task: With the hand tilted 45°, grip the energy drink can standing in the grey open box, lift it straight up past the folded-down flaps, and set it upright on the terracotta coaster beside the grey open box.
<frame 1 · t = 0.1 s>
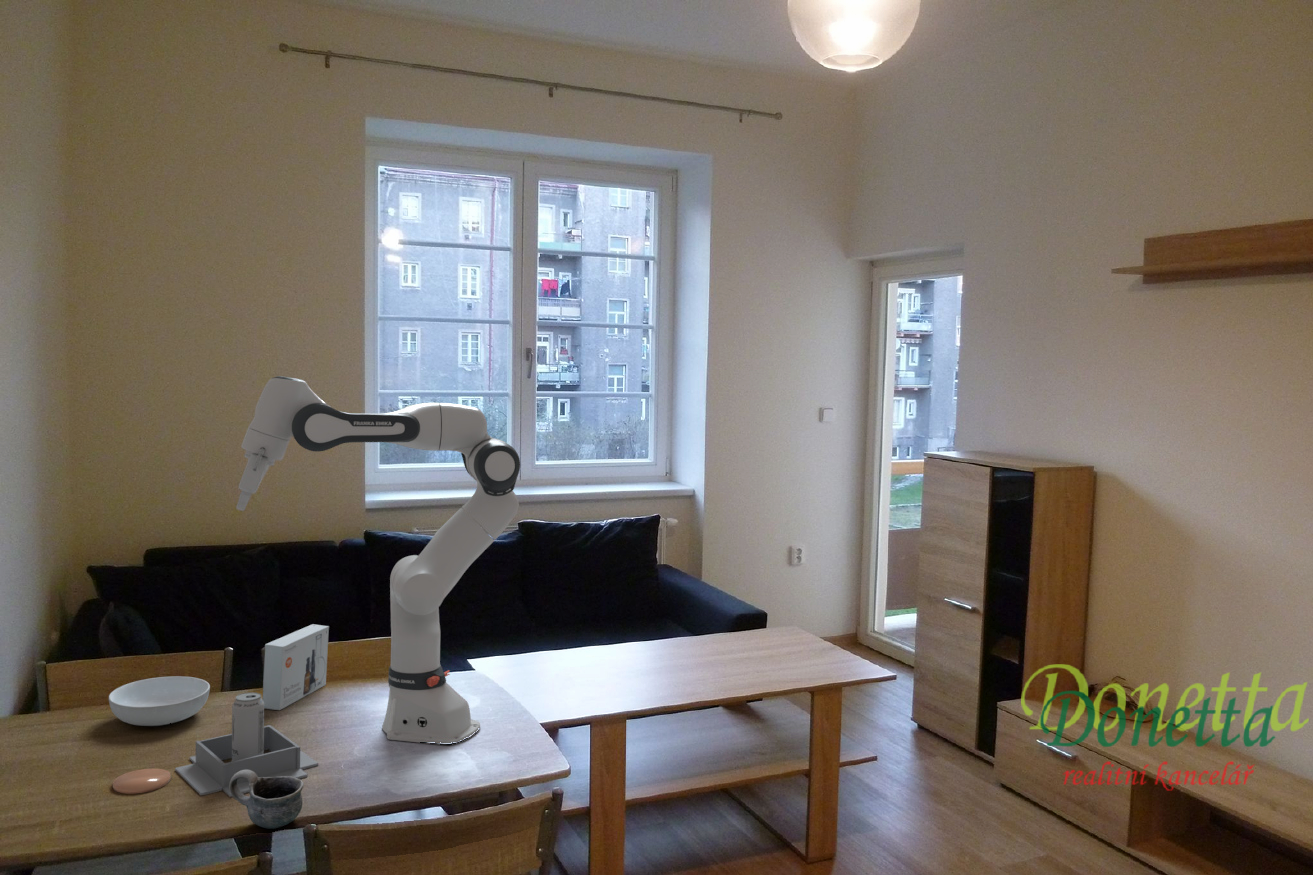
hand: (241, 506, 207), 52 cm above the table, tool tilted 20°, fingers open, 8 cm apart
grey open box: (247, 767, 197), on the table
serving bowl: (160, 720, 222), on the table
coaster: (142, 782, 188), on the table
skincare box: (296, 697, 241), on the table
mug: (266, 826, 173), on the table
energy drink can: (247, 768, 197), resting in grey open box
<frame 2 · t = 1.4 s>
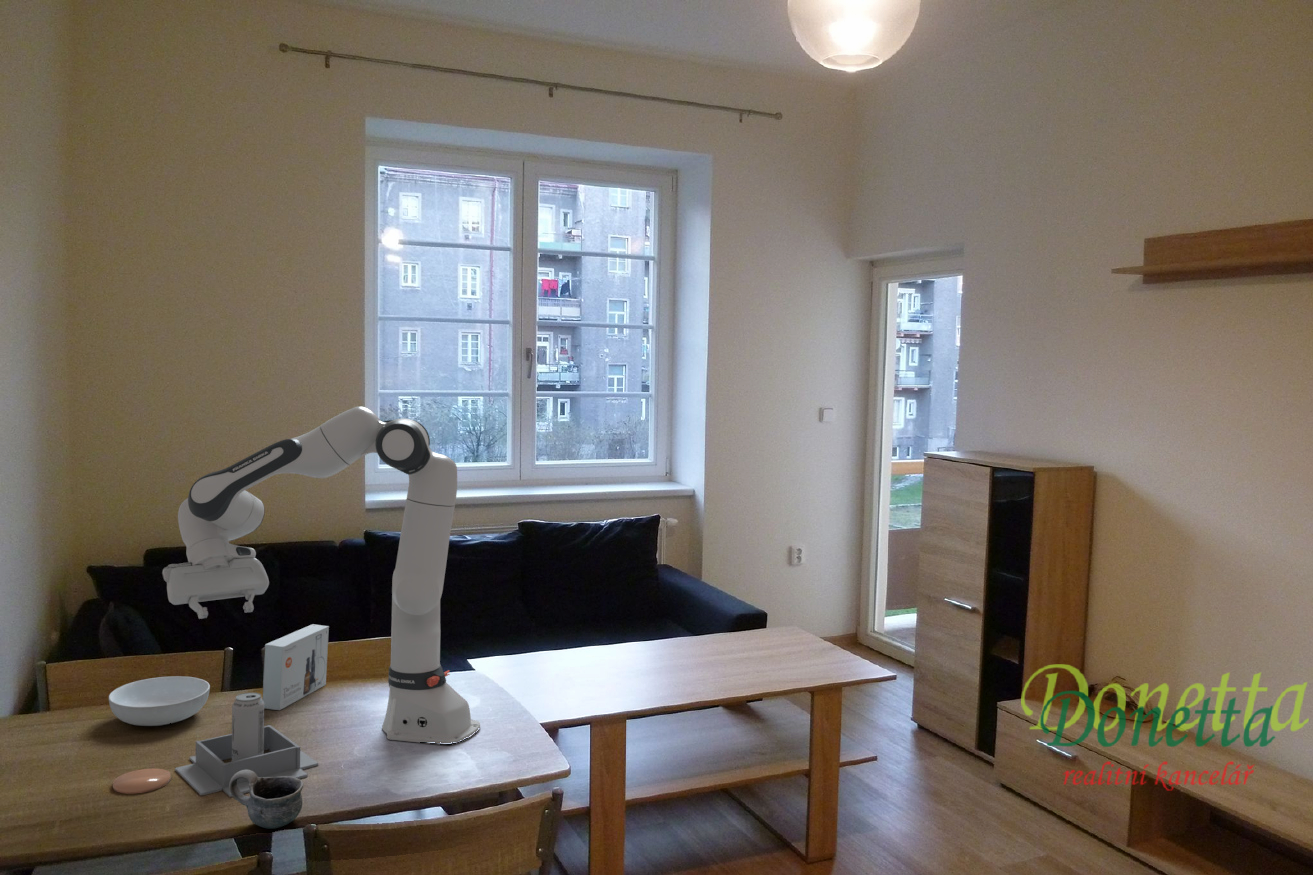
hand: (227, 613, 204), 30 cm above the table, tool tilted 45°, fingers open, 8 cm apart
nothing on the table moved.
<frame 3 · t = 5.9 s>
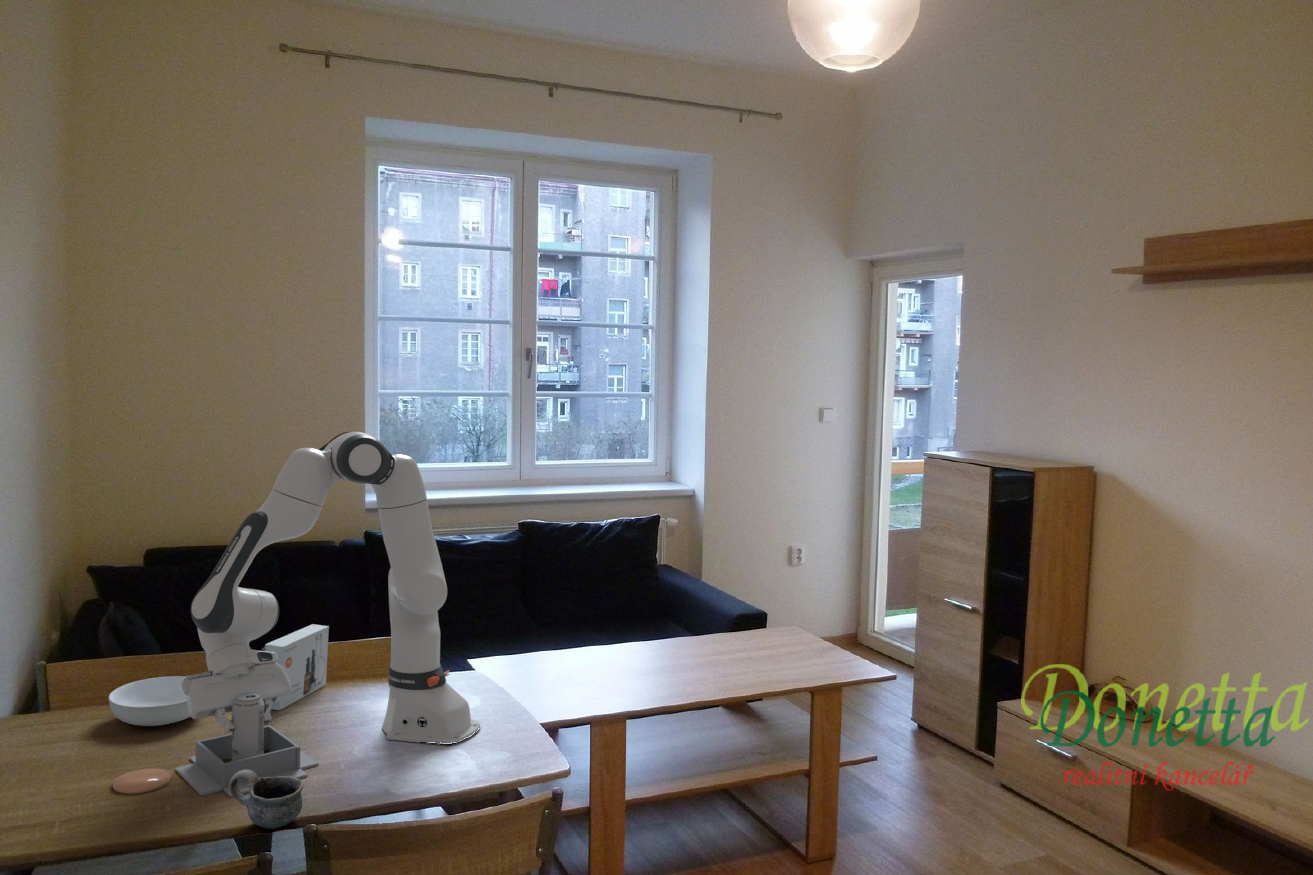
hand: (249, 726, 196), 9 cm above the table, tool tilted 45°, fingers closed on energy drink can, 6 cm apart
energy drink can: (247, 768, 197), resting in grey open box, touching gripper
everything else where it was.
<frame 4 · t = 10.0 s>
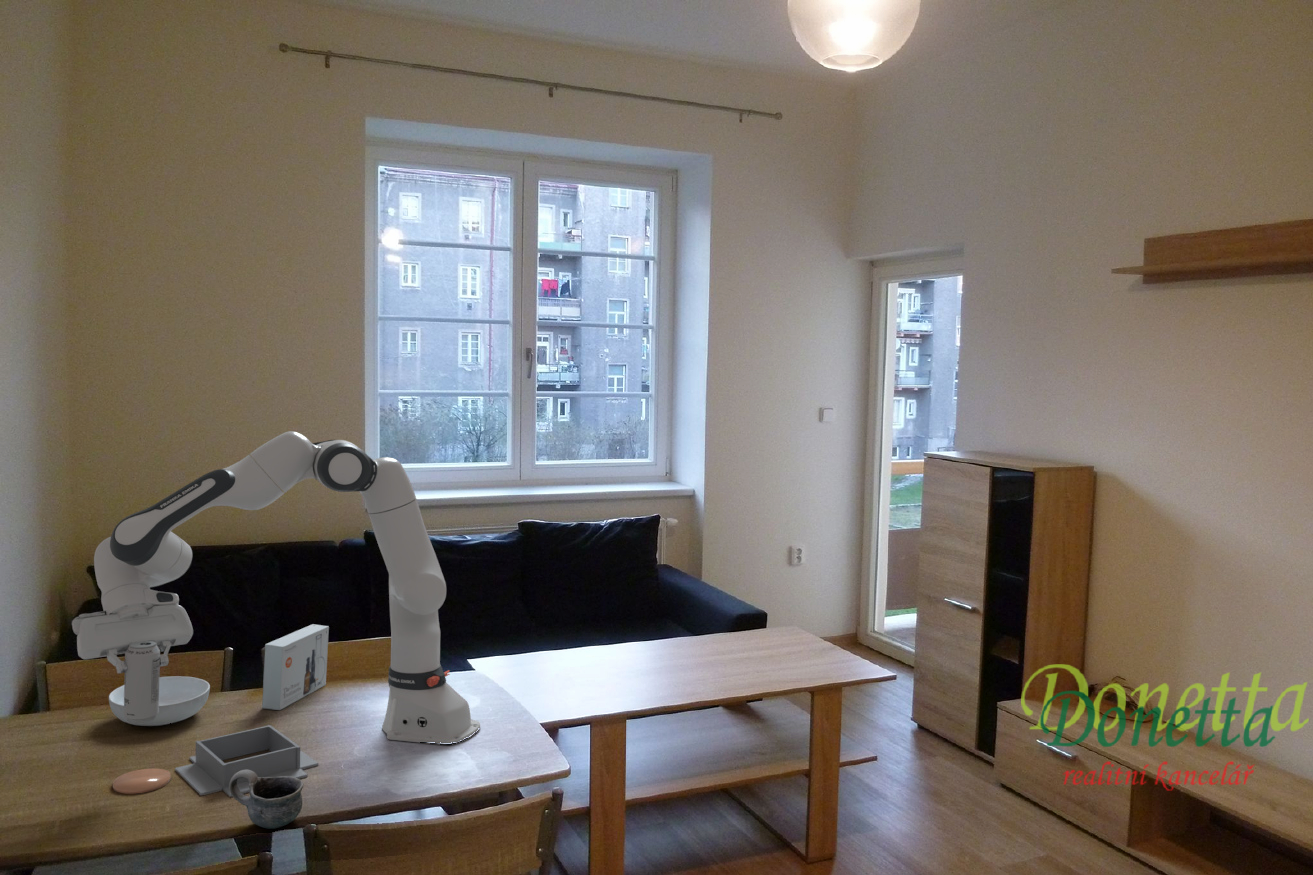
hand: (143, 668, 187), 23 cm above the table, tool tilted 45°, fingers closed on energy drink can, 6 cm apart
energy drink can: (141, 719, 188), point 13 cm above the table, touching gripper
everything else where it was.
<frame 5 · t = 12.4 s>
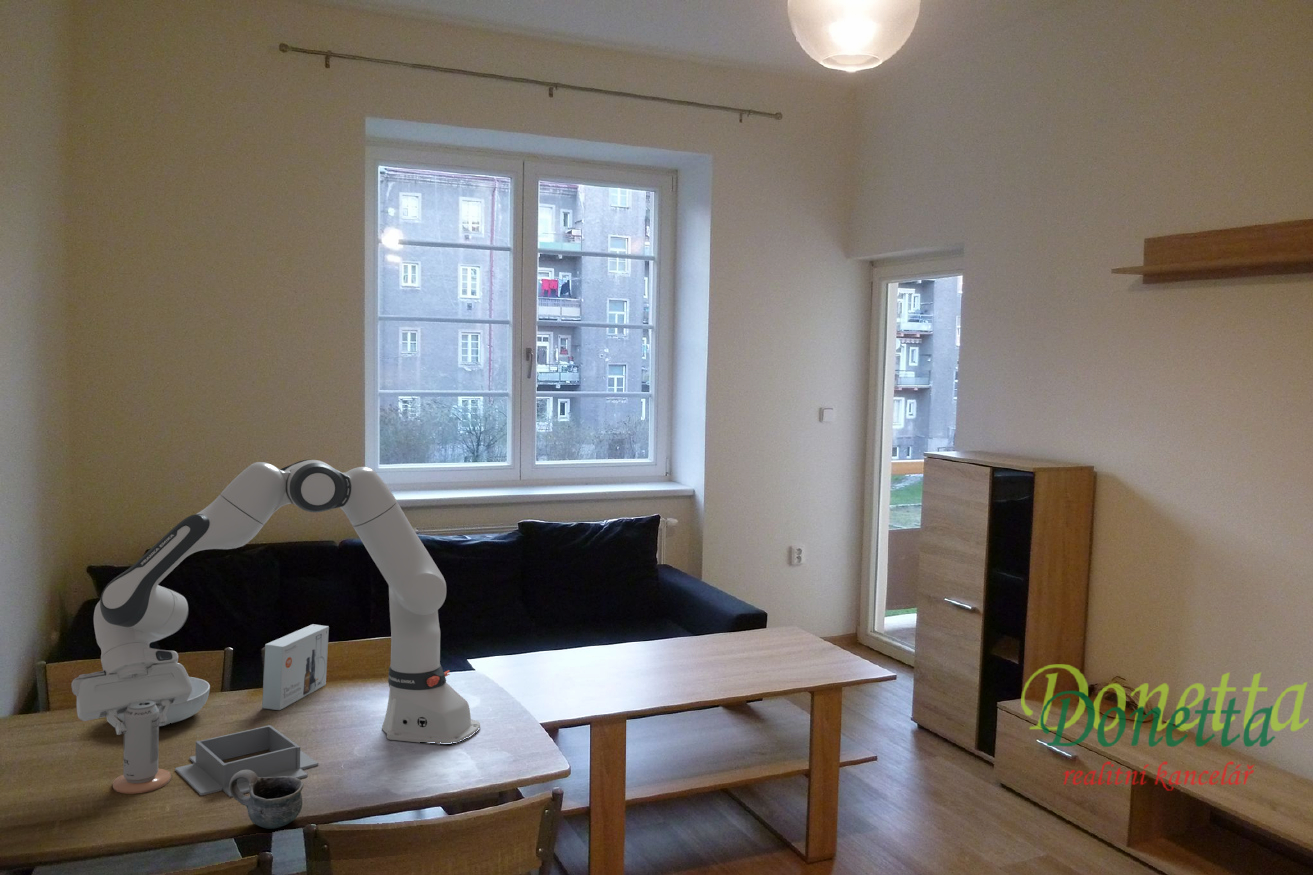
hand: (142, 728, 187), 11 cm above the table, tool tilted 45°, fingers closed on energy drink can, 6 cm apart
energy drink can: (140, 779, 189), point 1 cm above the table, touching coaster, gripper
everything else where it was.
when the fingers open (11 cm above the table, at t = 12.7 s): energy drink can stays where it is, resting on coaster.
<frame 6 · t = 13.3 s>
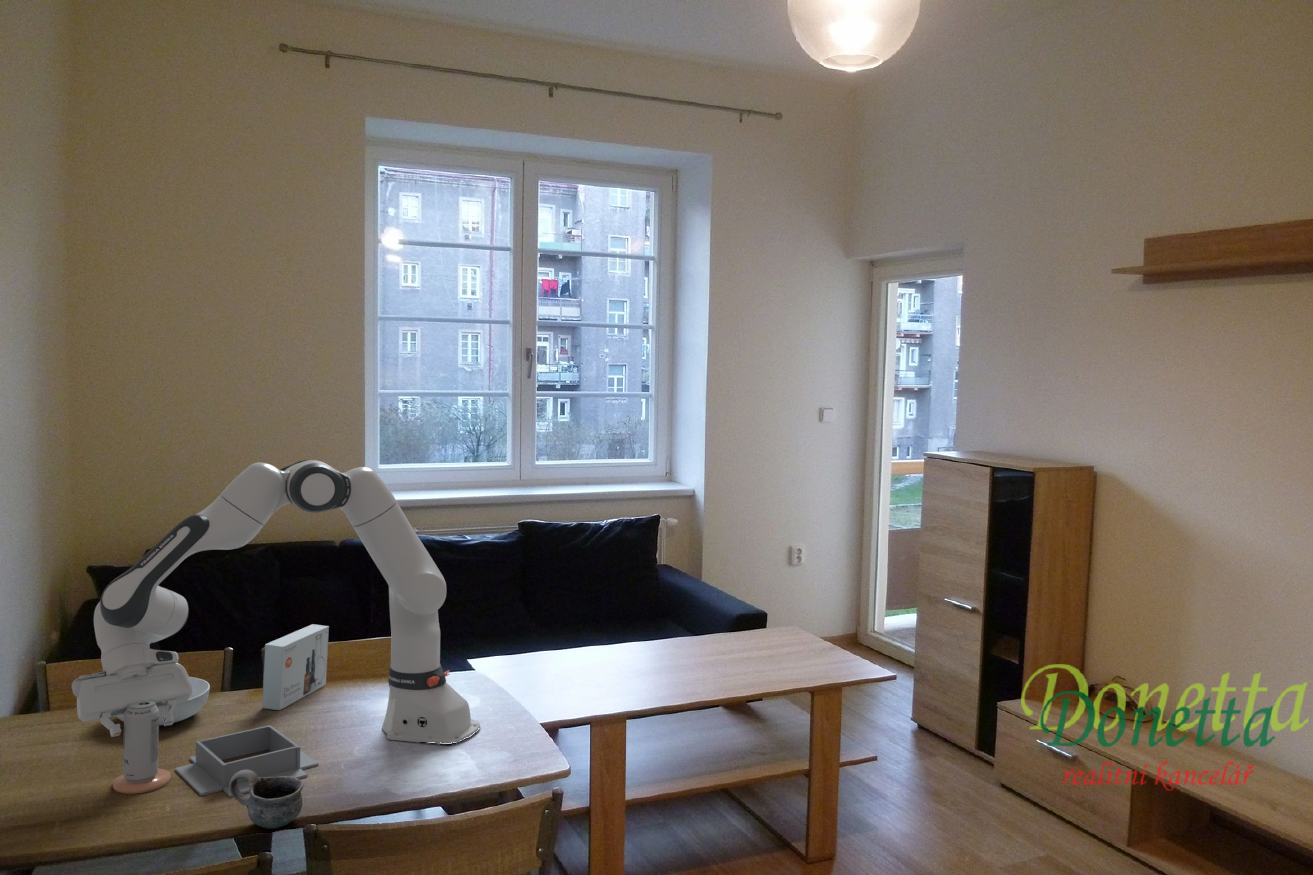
hand: (143, 729, 187), 11 cm above the table, tool tilted 45°, fingers open, 8 cm apart
energy drink can: (140, 779, 189), point 1 cm above the table, touching coaster
everything else where it was.
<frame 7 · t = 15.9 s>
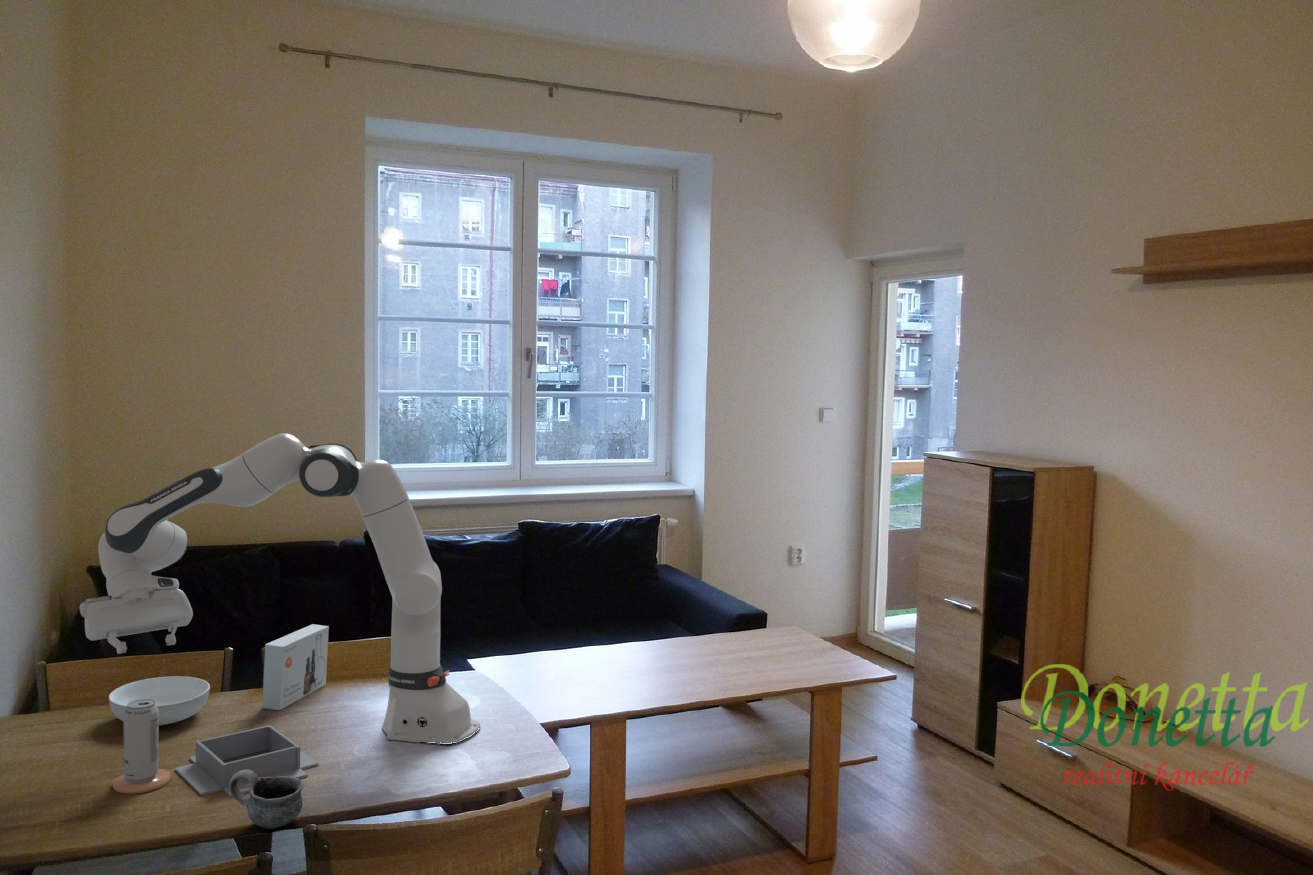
hand: (147, 647, 200), 23 cm above the table, tool tilted 45°, fingers open, 8 cm apart
nothing on the table moved.
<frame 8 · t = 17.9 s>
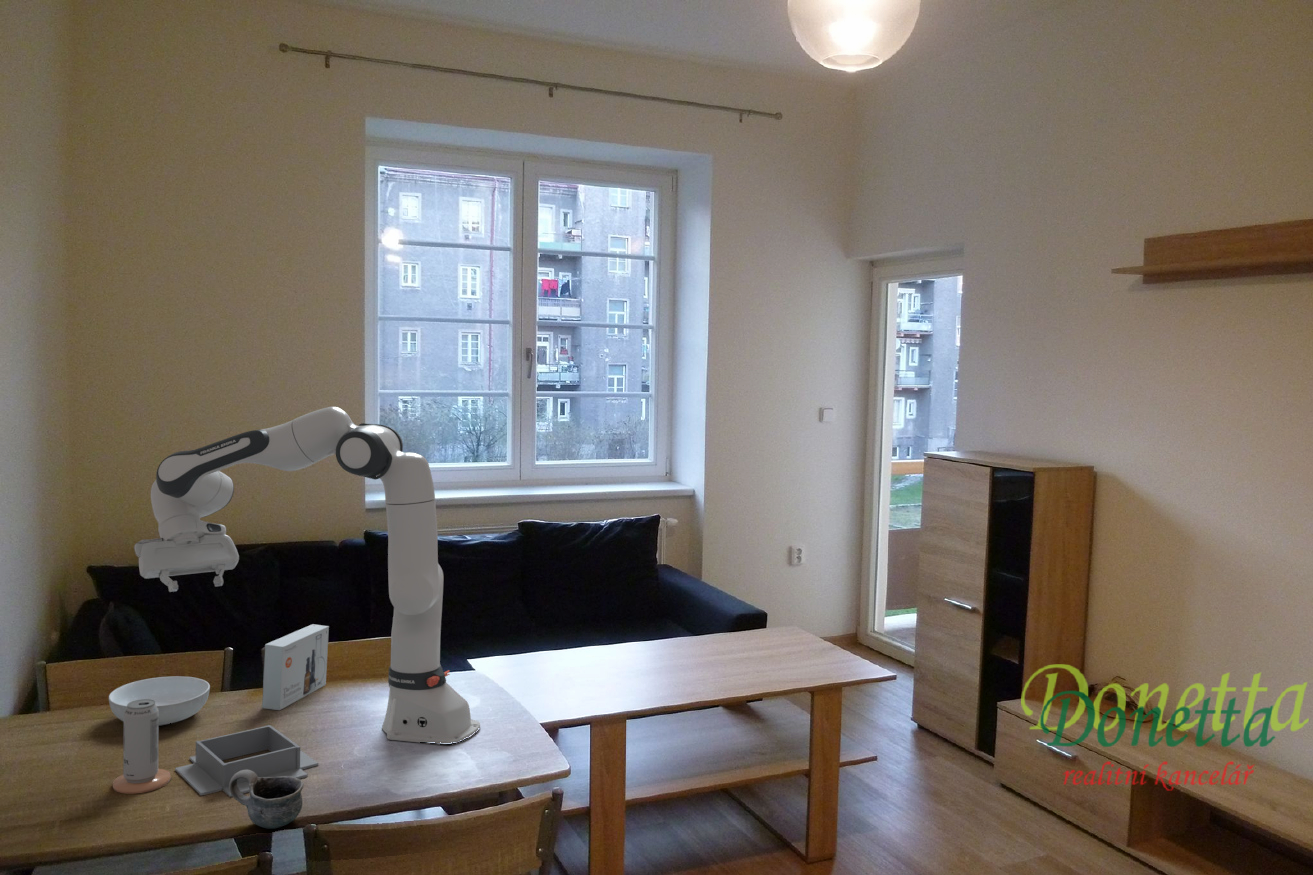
hand: (197, 587, 211), 33 cm above the table, tool tilted 45°, fingers open, 8 cm apart
nothing on the table moved.
at the end: energy drink can 0.4 cm from the coaster (horizontally); energy drink can tilted 0°; the gripper is holding nothing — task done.
